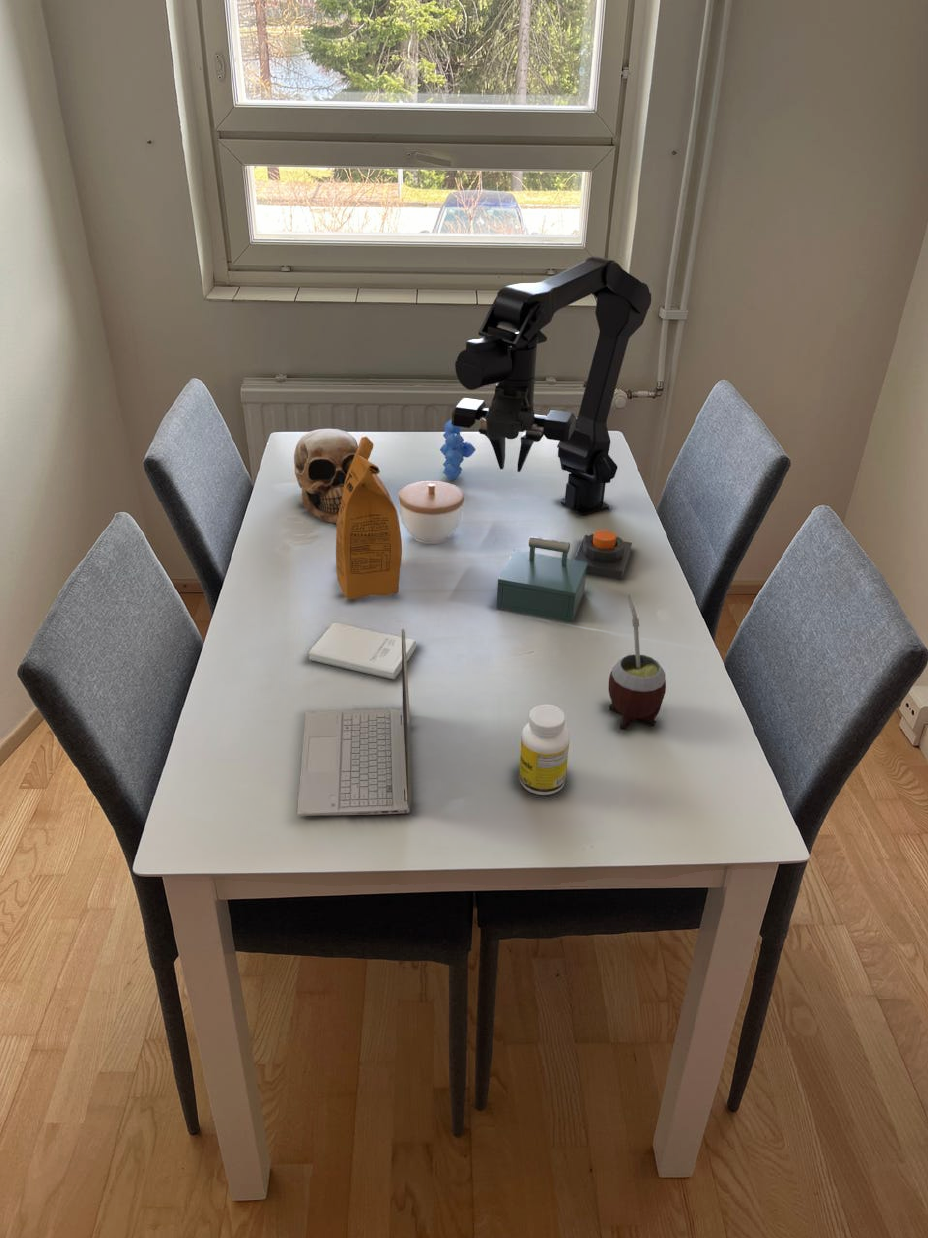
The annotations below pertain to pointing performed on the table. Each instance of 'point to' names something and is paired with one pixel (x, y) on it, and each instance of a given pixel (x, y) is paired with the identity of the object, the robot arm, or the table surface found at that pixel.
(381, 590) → the coffee package
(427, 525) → the trinket box
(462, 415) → the robot arm
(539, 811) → the table surface
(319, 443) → the skull
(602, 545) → the button
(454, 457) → the grapes
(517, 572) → the lid
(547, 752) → the supplement bottle
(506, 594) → the dark green toolbox
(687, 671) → the table surface
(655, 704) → the mate gourd
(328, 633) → the hard drive
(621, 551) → the button block
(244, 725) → the table surface
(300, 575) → the table surface
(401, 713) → the laptop
